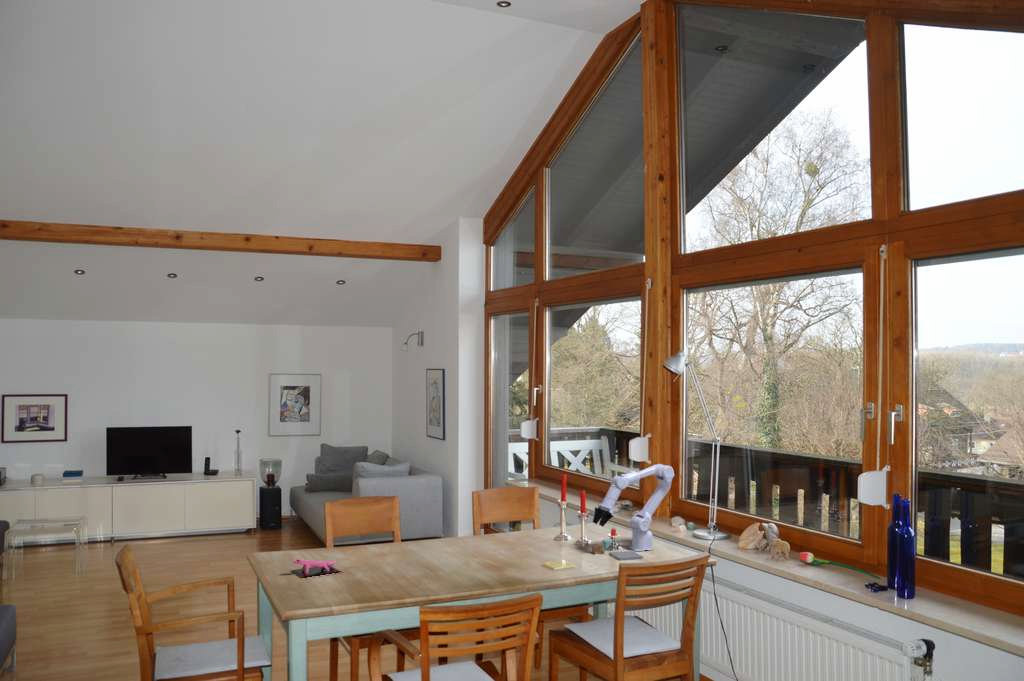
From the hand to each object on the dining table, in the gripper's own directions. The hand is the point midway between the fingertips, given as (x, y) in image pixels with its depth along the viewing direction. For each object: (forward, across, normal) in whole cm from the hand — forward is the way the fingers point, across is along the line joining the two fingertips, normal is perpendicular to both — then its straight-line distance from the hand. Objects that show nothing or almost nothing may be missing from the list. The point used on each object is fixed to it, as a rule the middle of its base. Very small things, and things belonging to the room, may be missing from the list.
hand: (597, 524), depth 397 cm
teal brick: (+7, -8, +15) cm, 18 cm away
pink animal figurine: (+80, -1, -107) cm, 133 cm away
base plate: (+7, +10, +16) cm, 20 cm away
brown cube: (+12, 0, +7) cm, 14 cm away
